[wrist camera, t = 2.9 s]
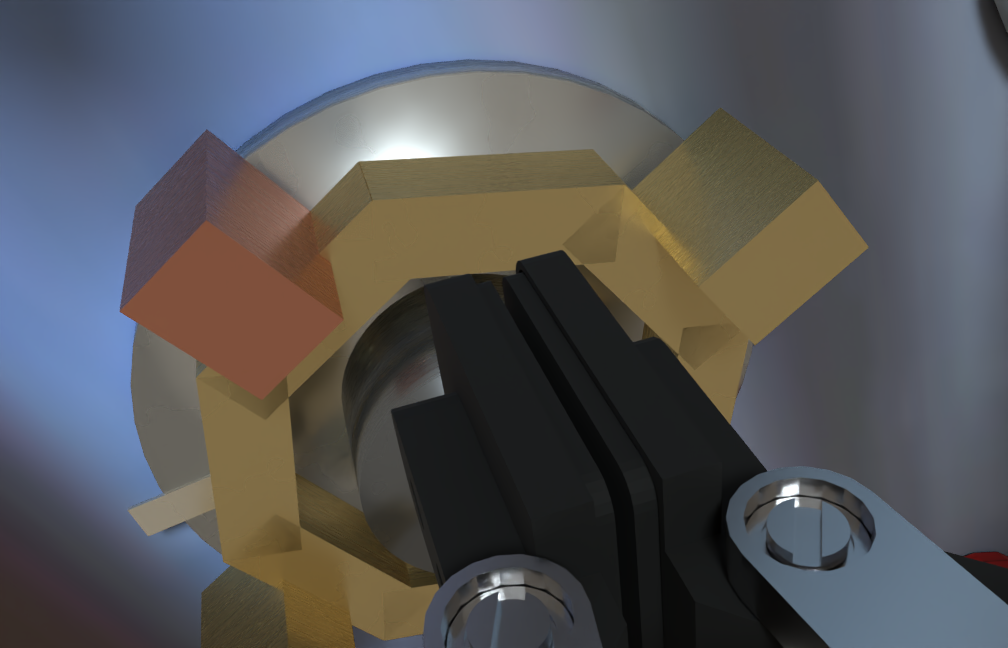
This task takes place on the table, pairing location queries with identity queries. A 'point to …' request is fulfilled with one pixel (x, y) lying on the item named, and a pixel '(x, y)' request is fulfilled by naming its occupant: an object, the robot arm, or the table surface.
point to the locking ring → (420, 254)
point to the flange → (404, 318)
